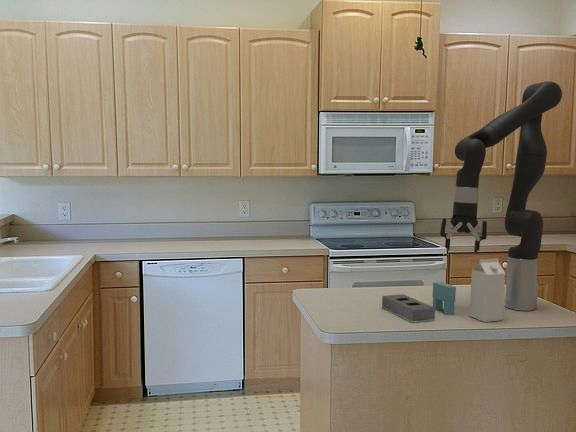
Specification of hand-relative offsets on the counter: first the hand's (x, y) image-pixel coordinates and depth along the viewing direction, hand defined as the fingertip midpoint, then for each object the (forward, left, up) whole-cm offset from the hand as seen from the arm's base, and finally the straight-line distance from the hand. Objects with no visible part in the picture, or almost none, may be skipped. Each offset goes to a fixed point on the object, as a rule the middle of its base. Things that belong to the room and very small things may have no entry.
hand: (461, 251), depth 185 cm
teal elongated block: (+5, -1, -20) cm, 21 cm away
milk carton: (-3, +10, -20) cm, 23 cm away
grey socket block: (+18, -2, -20) cm, 27 cm away
